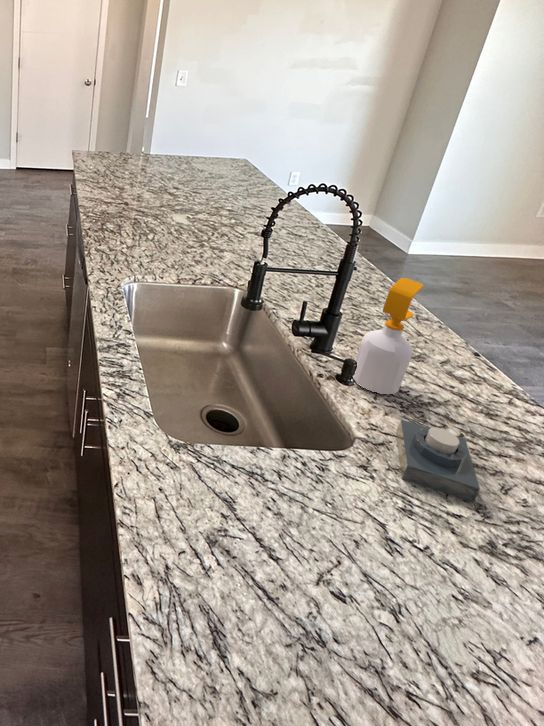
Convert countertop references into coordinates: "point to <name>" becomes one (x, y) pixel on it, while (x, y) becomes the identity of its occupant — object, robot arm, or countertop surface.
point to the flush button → (442, 440)
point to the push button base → (435, 463)
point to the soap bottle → (388, 343)
